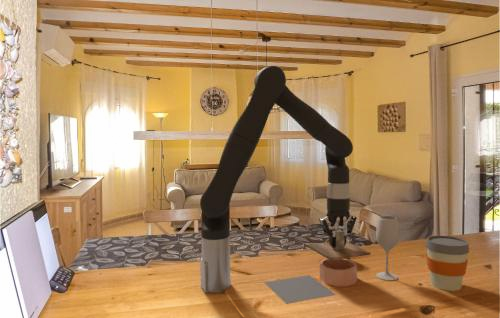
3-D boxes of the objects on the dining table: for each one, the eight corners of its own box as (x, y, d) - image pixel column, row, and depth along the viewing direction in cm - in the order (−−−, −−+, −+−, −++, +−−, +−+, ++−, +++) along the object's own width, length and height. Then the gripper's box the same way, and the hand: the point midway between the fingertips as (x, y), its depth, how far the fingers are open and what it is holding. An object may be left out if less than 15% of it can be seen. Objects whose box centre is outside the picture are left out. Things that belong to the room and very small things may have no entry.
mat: (286, 306, 111) (286, 303, 111) (264, 284, 127) (264, 282, 127) (336, 296, 117) (336, 294, 117) (309, 277, 133) (309, 275, 133)
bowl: (332, 290, 122) (332, 272, 121) (313, 277, 133) (313, 260, 133) (364, 285, 126) (364, 267, 125) (342, 272, 137) (342, 256, 137)
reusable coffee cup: (473, 285, 125) (475, 240, 124) (458, 296, 116) (460, 248, 115) (434, 274, 134) (435, 233, 133) (418, 284, 126) (419, 240, 125)
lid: (330, 260, 119) (330, 239, 118) (307, 246, 133) (307, 227, 133) (370, 254, 124) (370, 234, 124) (343, 242, 138) (344, 223, 138)
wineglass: (373, 278, 131) (374, 218, 130) (377, 271, 138) (378, 214, 136) (396, 282, 128) (398, 220, 126) (399, 274, 134) (400, 216, 133)
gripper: (326, 199, 121) (325, 252, 123) (362, 196, 126) (362, 247, 127) (314, 195, 128) (314, 245, 130) (349, 192, 133) (348, 241, 134)
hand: (337, 246), depth 129 cm, fingers closed on lid, 3 cm apart
